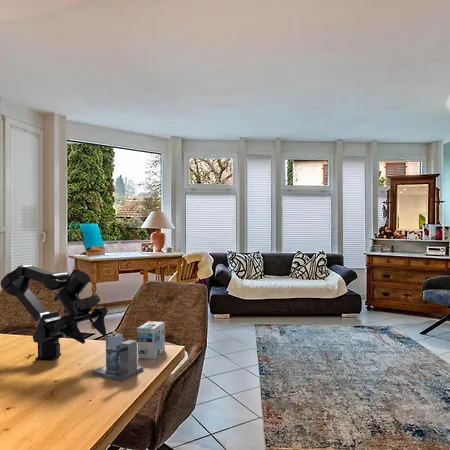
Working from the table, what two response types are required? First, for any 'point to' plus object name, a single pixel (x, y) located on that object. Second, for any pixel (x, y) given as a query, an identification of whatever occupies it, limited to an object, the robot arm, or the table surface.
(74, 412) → the table surface
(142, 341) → the light bulb box
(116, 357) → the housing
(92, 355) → the table surface
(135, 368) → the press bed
